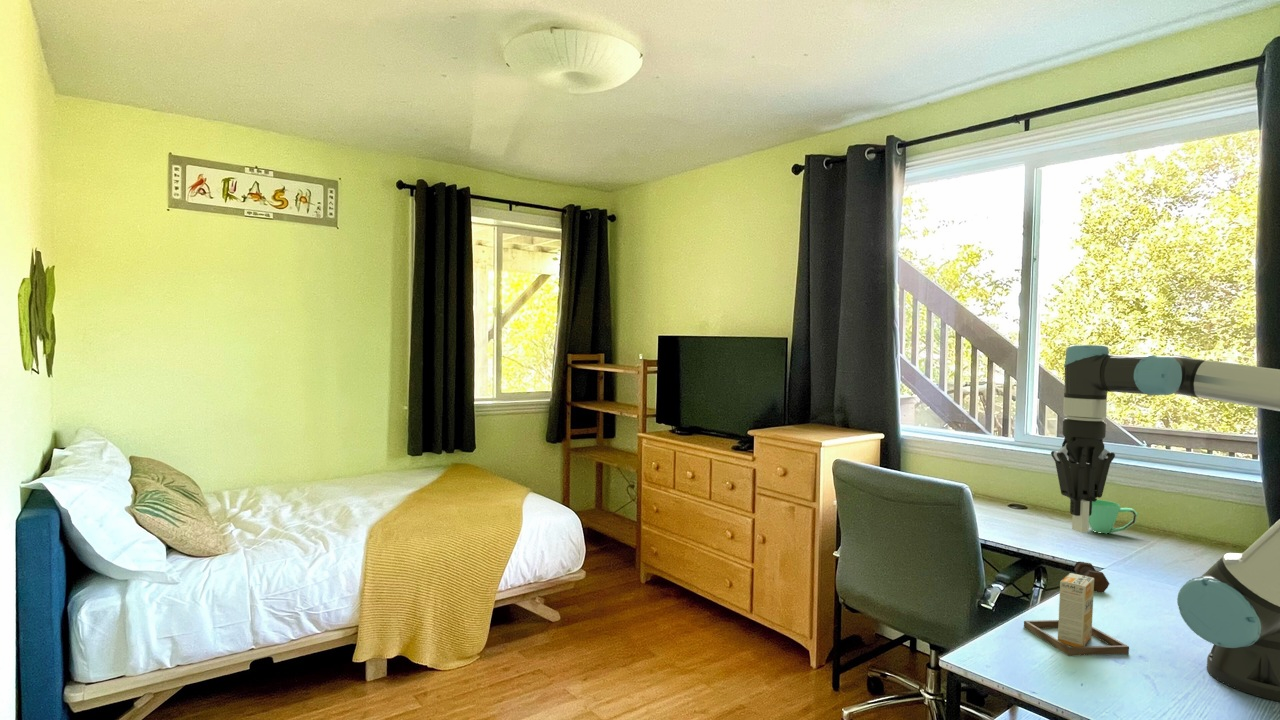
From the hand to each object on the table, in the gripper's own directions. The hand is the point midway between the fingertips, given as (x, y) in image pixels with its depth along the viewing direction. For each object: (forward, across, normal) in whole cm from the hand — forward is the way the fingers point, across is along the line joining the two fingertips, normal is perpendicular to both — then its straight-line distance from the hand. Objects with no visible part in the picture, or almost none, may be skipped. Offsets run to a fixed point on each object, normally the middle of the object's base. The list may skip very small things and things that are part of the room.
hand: (1080, 530), depth 140 cm
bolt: (+24, -31, -33) cm, 51 cm away
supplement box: (+24, 0, 0) cm, 24 cm away
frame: (+23, 0, 0) cm, 23 cm away
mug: (+23, -75, -76) cm, 109 cm away
